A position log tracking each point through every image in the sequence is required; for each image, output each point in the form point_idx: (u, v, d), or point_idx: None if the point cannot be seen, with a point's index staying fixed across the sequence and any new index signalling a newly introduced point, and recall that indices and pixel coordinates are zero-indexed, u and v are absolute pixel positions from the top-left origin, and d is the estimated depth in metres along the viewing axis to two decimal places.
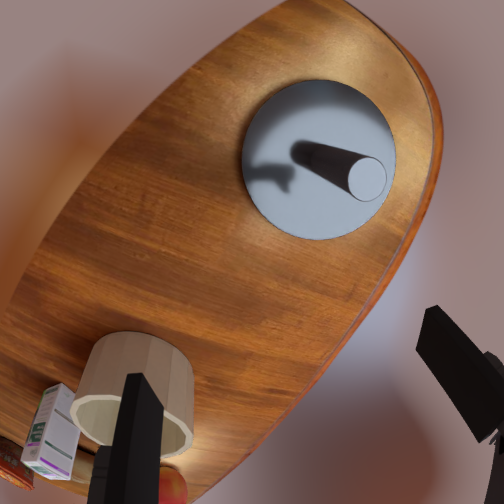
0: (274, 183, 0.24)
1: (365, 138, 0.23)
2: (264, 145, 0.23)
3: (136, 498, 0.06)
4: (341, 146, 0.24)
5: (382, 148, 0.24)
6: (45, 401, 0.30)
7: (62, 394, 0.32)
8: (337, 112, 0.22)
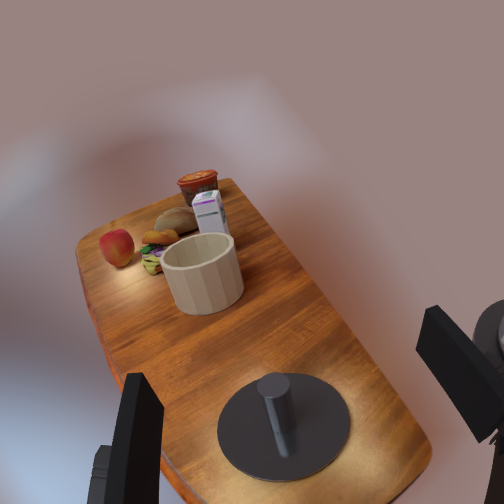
0: None
1: (288, 455, 0.24)
2: (311, 388, 0.31)
3: (136, 498, 0.06)
4: (289, 435, 0.26)
5: (272, 468, 0.23)
6: None
7: None
8: (317, 439, 0.25)
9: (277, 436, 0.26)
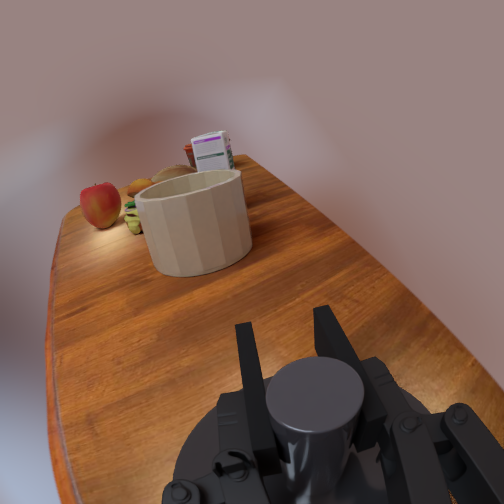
0: None
1: None
2: None
3: None
4: (329, 500, 0.09)
5: None
6: None
7: None
8: None
9: (302, 502, 0.10)
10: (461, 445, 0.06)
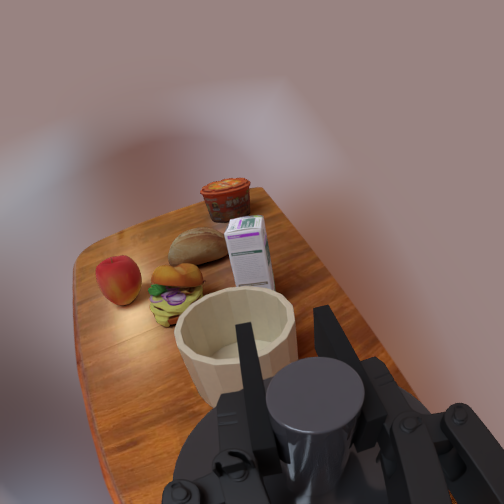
0: None
1: None
2: None
3: None
4: (329, 501, 0.09)
5: None
6: (273, 281, 0.50)
7: None
8: None
9: (302, 502, 0.10)
10: (461, 445, 0.06)
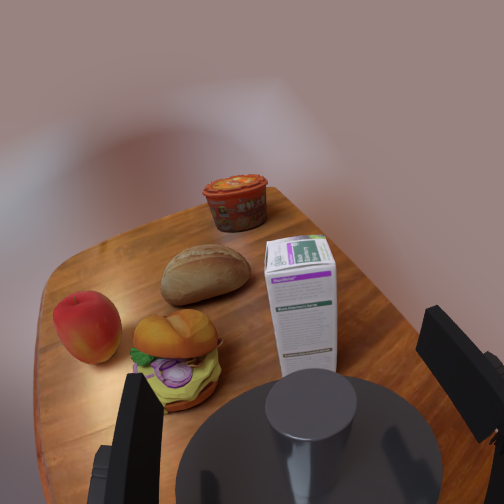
0: None
1: None
2: (368, 403, 0.15)
3: (136, 498, 0.06)
4: (325, 501, 0.10)
5: None
6: None
7: None
8: None
9: (300, 503, 0.10)
10: None
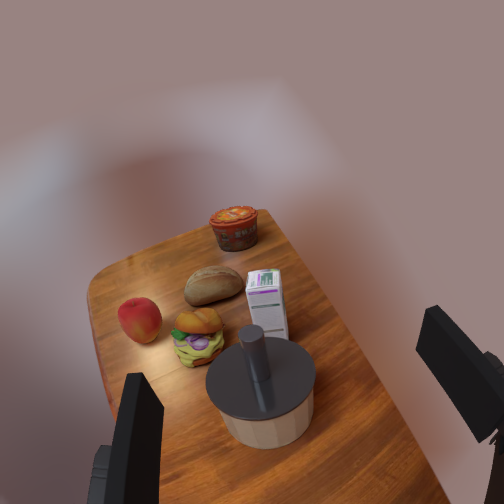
0: None
1: (261, 399, 0.32)
2: (287, 349, 0.40)
3: (136, 498, 0.06)
4: (264, 384, 0.35)
5: (247, 409, 0.31)
6: (287, 325, 0.54)
7: None
8: (287, 388, 0.33)
9: (254, 384, 0.35)
10: None
